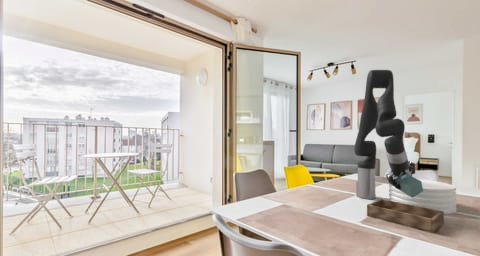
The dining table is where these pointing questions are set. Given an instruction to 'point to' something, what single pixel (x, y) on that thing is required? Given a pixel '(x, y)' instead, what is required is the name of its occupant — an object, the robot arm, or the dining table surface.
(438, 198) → the plate stack
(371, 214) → the tray
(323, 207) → the dining table surface
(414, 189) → the teal open box
